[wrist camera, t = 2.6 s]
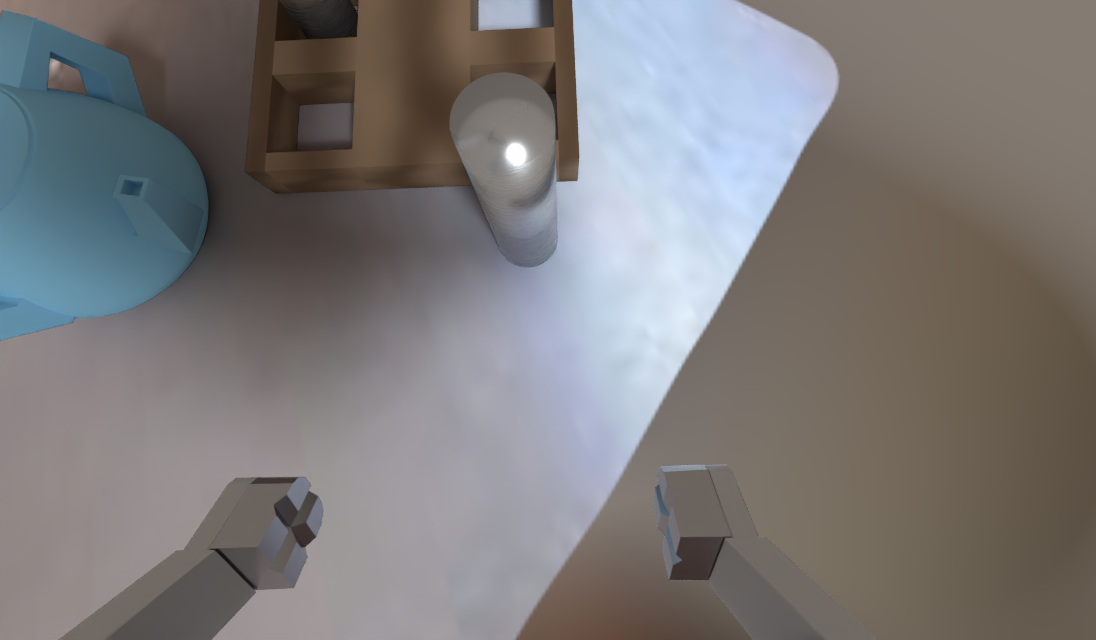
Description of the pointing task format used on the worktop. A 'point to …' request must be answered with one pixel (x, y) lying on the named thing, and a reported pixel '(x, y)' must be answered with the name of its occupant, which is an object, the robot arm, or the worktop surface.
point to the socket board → (395, 92)
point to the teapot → (85, 186)
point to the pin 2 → (511, 161)
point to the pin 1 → (323, 17)
